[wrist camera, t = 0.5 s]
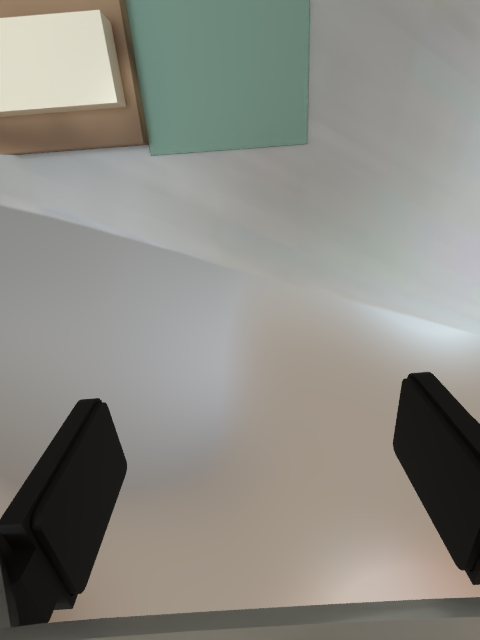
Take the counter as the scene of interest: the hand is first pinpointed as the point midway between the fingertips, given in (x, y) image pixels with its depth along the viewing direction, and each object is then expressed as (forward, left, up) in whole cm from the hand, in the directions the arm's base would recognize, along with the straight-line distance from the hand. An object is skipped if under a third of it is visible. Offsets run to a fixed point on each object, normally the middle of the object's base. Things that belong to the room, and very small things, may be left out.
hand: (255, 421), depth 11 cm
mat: (-16, -1, -30) cm, 34 cm away
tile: (-16, -16, -28) cm, 35 cm away
